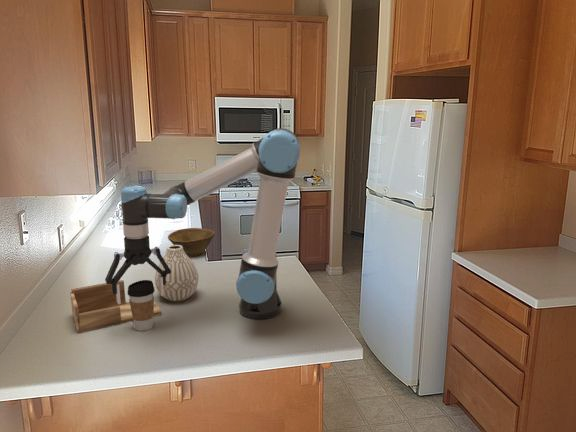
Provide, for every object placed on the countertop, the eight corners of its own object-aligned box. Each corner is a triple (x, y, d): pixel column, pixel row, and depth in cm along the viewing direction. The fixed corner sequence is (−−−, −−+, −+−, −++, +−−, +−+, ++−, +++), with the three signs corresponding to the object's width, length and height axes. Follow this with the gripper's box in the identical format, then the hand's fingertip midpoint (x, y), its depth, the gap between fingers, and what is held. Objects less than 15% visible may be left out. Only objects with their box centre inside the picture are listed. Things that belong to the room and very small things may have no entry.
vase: (154, 307, 168) (150, 254, 163) (157, 290, 183) (154, 241, 178) (199, 303, 171) (197, 252, 166) (199, 287, 186) (196, 239, 181)
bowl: (160, 252, 228) (159, 233, 226) (201, 243, 243) (200, 225, 241) (182, 264, 212) (181, 243, 210) (224, 253, 227) (223, 233, 225)
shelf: (161, 314, 162) (159, 287, 160) (77, 333, 149) (74, 304, 147) (151, 300, 174) (149, 275, 171) (72, 316, 161) (69, 289, 158)
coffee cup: (162, 326, 154) (159, 283, 150) (139, 335, 148) (135, 291, 144) (148, 318, 159) (145, 277, 156) (125, 327, 153) (121, 284, 149)
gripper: (172, 228, 155) (174, 287, 160) (92, 237, 143) (97, 301, 148) (179, 233, 149) (181, 295, 154) (95, 244, 137) (101, 310, 142)
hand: (140, 298), depth 151 cm, fingers open, 13 cm apart
